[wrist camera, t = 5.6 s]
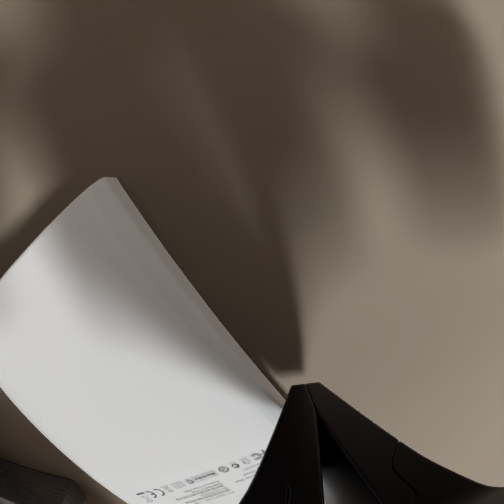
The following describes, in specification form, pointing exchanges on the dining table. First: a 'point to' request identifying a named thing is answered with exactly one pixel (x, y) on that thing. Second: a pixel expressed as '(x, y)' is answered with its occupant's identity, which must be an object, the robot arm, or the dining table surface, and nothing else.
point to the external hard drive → (130, 360)
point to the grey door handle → (35, 487)
